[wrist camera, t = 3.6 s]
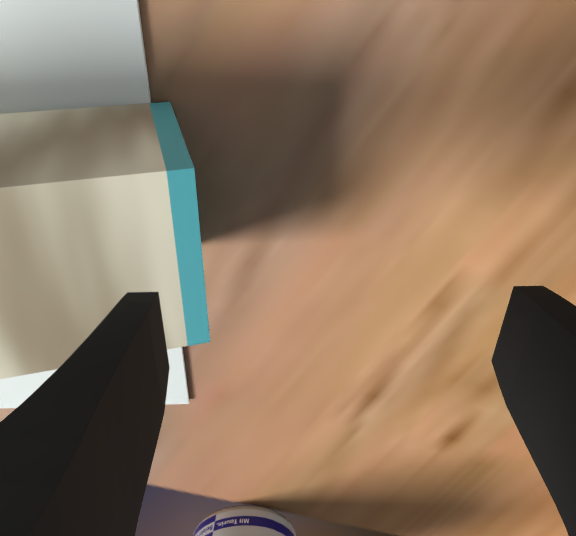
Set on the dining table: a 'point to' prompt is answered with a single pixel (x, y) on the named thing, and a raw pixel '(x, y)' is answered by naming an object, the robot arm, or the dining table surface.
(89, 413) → the robot arm
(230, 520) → the energy drink
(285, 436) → the dining table surface
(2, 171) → the birch block
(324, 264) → the dining table surface
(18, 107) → the pad
